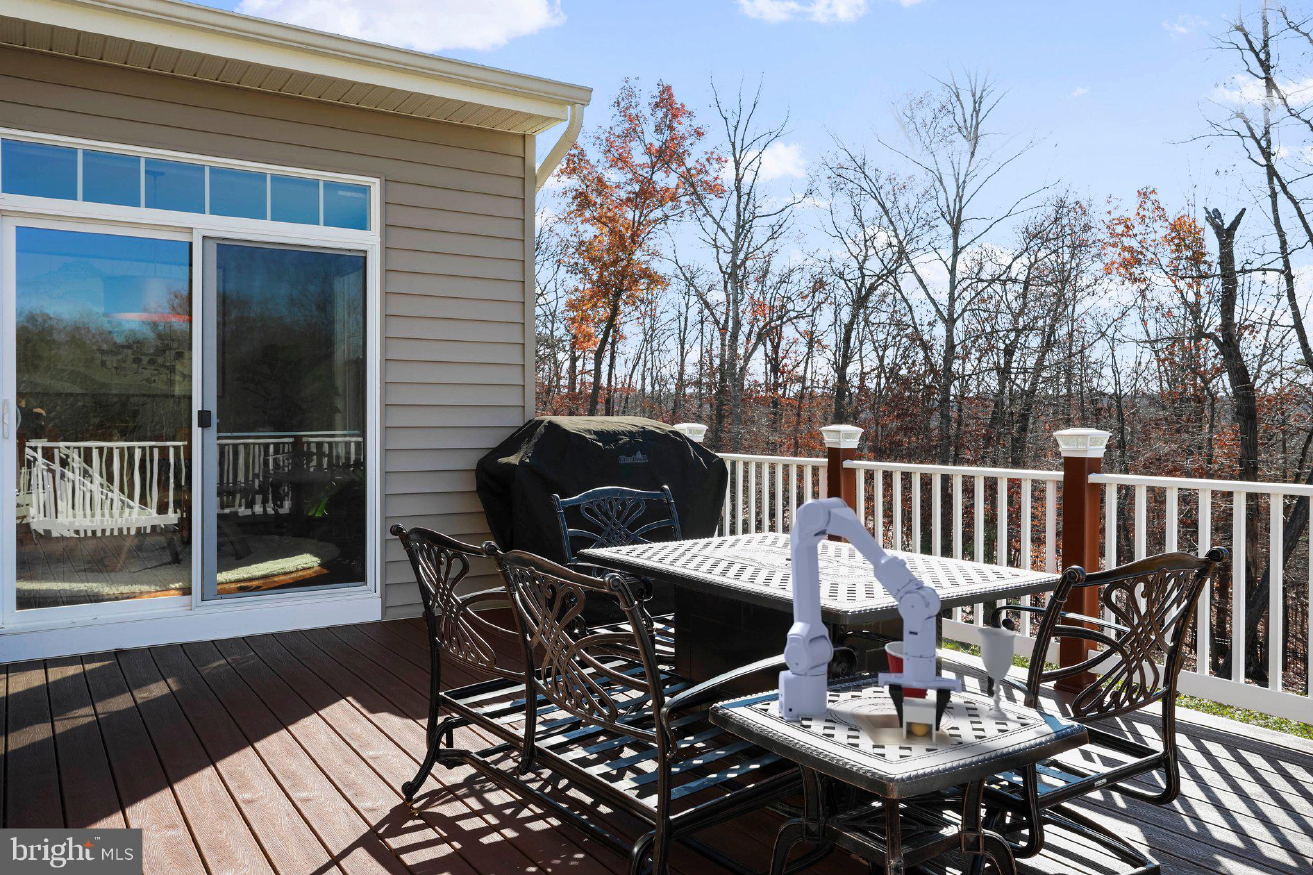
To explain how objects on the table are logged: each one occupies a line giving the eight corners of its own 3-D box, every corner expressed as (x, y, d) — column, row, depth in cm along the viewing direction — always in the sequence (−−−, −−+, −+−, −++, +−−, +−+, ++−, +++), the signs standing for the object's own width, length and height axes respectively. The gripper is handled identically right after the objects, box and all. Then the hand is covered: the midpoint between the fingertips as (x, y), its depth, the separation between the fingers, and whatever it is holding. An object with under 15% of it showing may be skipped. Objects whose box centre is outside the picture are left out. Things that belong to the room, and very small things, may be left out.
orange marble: (914, 738, 155) (914, 721, 155) (908, 732, 158) (908, 716, 158) (930, 738, 155) (930, 721, 155) (924, 732, 158) (924, 716, 158)
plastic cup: (928, 717, 171) (929, 659, 170) (876, 707, 177) (877, 650, 177) (944, 702, 180) (945, 646, 179) (894, 692, 186) (894, 638, 186)
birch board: (875, 751, 151) (875, 743, 151) (849, 720, 168) (849, 713, 168) (958, 750, 152) (958, 743, 152) (924, 719, 169) (924, 713, 169)
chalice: (969, 719, 169) (969, 629, 169) (995, 715, 172) (995, 626, 172) (998, 731, 162) (998, 637, 162) (1024, 726, 165) (1024, 634, 165)
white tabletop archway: (903, 738, 154) (903, 705, 155) (903, 728, 160) (903, 697, 160) (935, 742, 153) (935, 708, 153) (935, 732, 158) (935, 699, 158)
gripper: (877, 655, 155) (877, 730, 155) (962, 662, 150) (962, 739, 150) (879, 646, 162) (879, 718, 161) (960, 653, 157) (960, 726, 157)
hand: (919, 727), depth 156 cm, fingers closed on white tabletop archway, 6 cm apart
